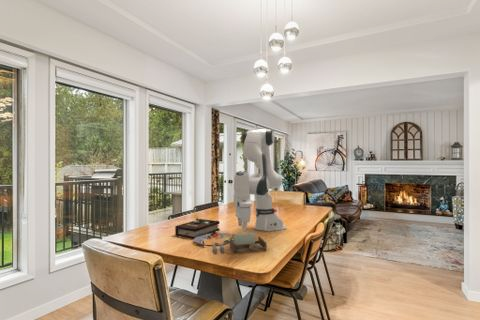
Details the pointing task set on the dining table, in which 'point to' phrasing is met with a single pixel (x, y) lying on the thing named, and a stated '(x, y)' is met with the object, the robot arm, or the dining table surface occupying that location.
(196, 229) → the decorative book
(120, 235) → the dining table surface
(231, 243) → the rack
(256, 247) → the offcut upper
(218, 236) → the food plate
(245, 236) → the board
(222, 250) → the stand
